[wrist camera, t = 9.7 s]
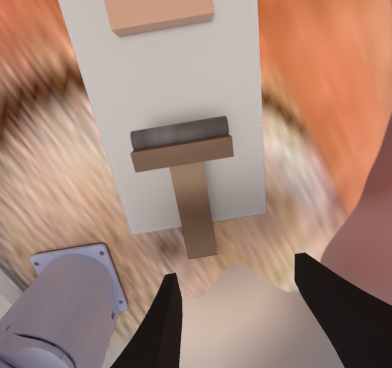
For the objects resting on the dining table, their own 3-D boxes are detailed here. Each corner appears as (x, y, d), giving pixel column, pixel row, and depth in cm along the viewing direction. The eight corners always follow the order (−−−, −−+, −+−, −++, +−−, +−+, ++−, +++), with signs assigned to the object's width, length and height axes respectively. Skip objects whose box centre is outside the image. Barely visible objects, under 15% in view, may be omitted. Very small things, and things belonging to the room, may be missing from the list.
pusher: (228, 226, 22) (244, 273, 16) (171, 235, 22) (165, 285, 16) (215, 112, 18) (230, 116, 12) (145, 124, 18) (124, 134, 12)
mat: (265, 211, 22) (266, 213, 22) (132, 232, 22) (131, 234, 22) (249, -141, 13) (251, -149, 13) (29, -102, 13) (24, -108, 13)
